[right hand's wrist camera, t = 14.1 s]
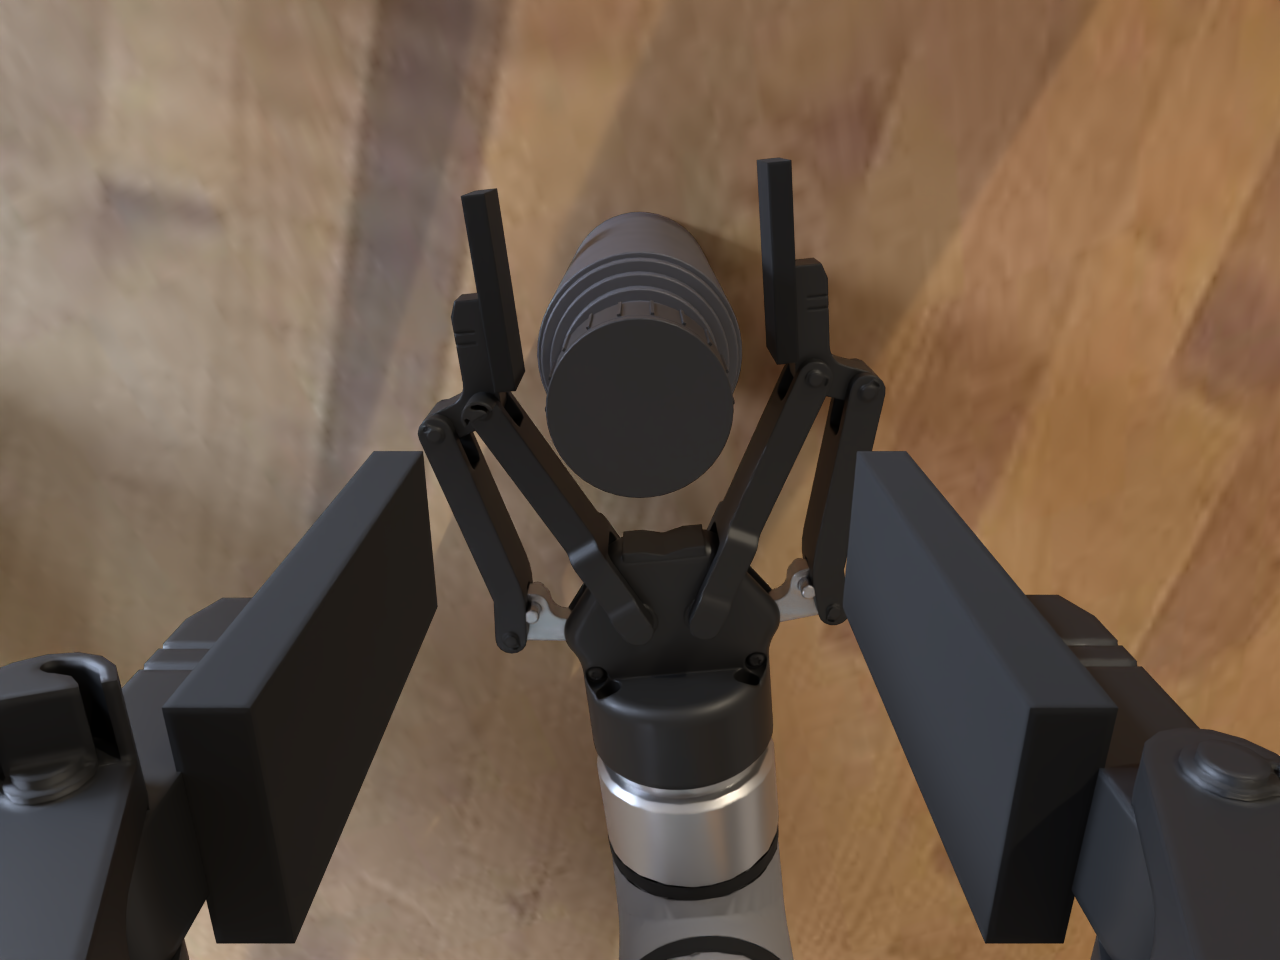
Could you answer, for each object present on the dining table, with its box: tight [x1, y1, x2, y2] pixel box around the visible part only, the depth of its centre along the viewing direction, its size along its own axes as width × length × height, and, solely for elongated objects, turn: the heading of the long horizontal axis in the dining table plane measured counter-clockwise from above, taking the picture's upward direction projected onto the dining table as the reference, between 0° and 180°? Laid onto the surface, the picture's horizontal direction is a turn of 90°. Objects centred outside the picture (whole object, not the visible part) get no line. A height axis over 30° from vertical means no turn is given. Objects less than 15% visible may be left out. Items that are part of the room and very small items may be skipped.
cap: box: [545, 300, 734, 498], centre depth 21 cm, size 4×4×2 cm
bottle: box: [537, 212, 742, 394], centre depth 29 cm, size 6×6×17 cm
